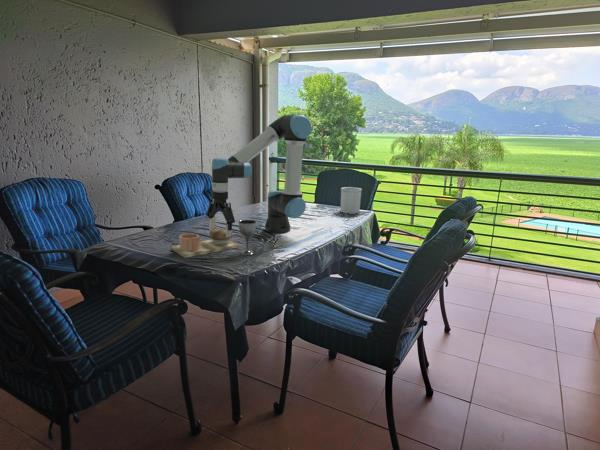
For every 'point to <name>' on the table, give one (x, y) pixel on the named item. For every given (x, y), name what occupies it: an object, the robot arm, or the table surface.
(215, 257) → the table surface
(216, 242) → the light grey domed disc
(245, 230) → the wine glass
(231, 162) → the robot arm
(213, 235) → the lid
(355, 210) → the utensil holder
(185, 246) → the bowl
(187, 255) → the serving board
